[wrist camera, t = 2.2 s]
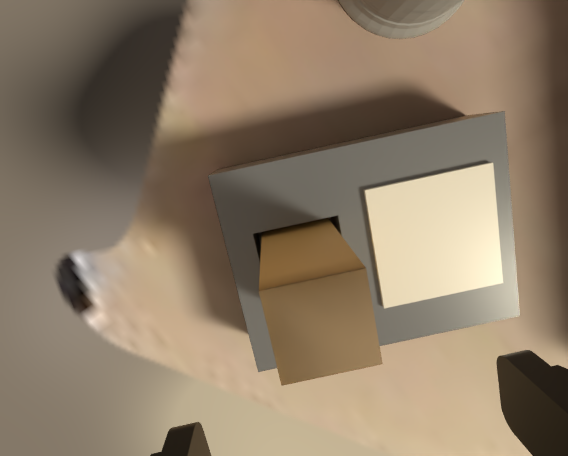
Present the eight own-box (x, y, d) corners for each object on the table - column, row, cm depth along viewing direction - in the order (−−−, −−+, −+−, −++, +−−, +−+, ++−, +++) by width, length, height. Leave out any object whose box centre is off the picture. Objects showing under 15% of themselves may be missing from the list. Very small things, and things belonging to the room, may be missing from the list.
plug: (262, 225, 25) (258, 291, 14) (323, 212, 25) (366, 268, 14) (275, 282, 26) (281, 385, 15) (334, 269, 26) (382, 364, 15)
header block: (217, 169, 24) (207, 176, 20) (466, 115, 24) (507, 110, 20) (259, 338, 27) (258, 375, 23) (483, 290, 27) (523, 318, 23)
